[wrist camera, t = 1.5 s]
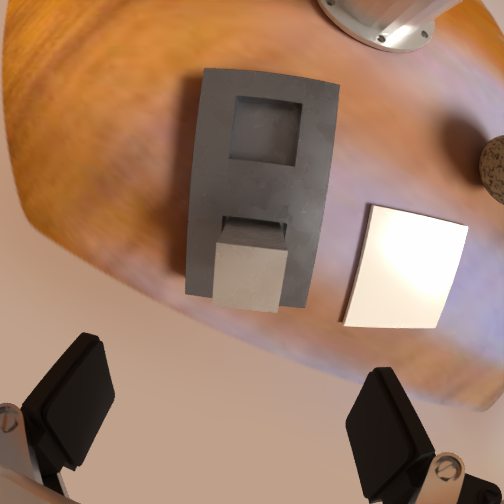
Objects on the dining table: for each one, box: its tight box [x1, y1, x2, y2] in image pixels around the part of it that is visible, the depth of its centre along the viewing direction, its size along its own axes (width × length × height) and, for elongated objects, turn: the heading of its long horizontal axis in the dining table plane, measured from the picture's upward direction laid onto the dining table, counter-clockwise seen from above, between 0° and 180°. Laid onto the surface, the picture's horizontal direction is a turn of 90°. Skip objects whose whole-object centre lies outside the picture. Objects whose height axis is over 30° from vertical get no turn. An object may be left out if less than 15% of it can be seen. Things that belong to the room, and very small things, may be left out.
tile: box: [343, 205, 468, 328], centre depth 25 cm, size 12×12×1 cm
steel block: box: [212, 216, 288, 313], centre depth 20 cm, size 4×4×8 cm
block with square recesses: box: [185, 68, 340, 308], centre depth 22 cm, size 18×10×3 cm, turn 173°
